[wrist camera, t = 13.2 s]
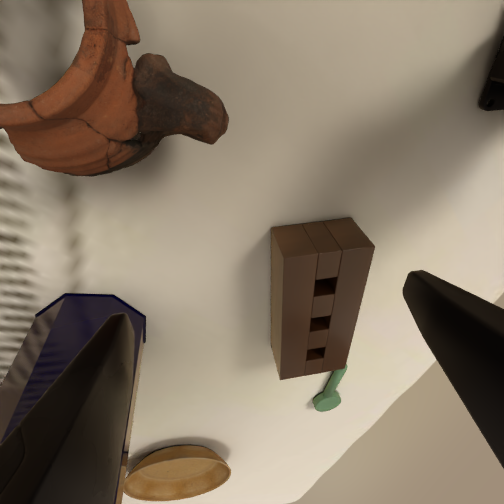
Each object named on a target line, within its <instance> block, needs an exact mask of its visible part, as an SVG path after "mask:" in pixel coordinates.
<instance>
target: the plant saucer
mask: <svg viewBox="0 0 504 504" xmlns="http://www.w3.org/2000/svg"><path fill="white" fill-rule="evenodd" d="M230 475H231V469H230V468H229V466H228V465H227V464H226V462H225V461H224V460H223V459H222V458H221V457H220V456H218V455H217V454H216V453H215V452H213V451H212V450H210V449H208V448H205V447H201V446H194V445H183V446H174V447H169V448H165V449H162V450H159V451H156V452H154V453H152V454H150V455H148V456H147V457H145V458H144V459H143V460H142V461H141V462H140V463H138V464H137V465H136V466H135V467H134V469H133V470H132V471H131V472H130V473H129V474H128V476H127V477H126V479H125V481H124V489H123V492H124V493H125V494H126V495H128V496H130V497H132V498H135V499H139V500H145V501H171V500H180V499H185V498H190V497H194V496H197V495H201V494H204V493H207V492H209V491H211V490H214V489H216V488H218V487H219V486H221V485H222V484H224V483H225V482H226V481H227V480H228V479H229V477H230Z"/></svg>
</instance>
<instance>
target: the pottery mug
mask: <svg viewBox="0 0 504 504" xmlns="http://www.w3.org/2000/svg"><path fill="white" fill-rule="evenodd" d="M82 3H83V12H84V26H85V32H84V34H83V37H82V41H81V45H80V48H79V51H78V53H77V54H76V56H75V58H74V60H73V62H72V64H71V66H70V67H69V69H68V70H67V71H66V73H65V74H64V76H63V77H62V78H61V79H60V80H59V81H58V82H57V83H56V84H55V85H53V86H52V87H51V88H50V89H49V90H47V91H46V92H44V93H43V94H41V95H39V96H37V97H35V98H33V99H31V100H29V101H23V102H19V103H13V104H0V129H2V128H3V129H5V131H6V132H7V134H8V136H9V139H10V142H11V143H12V144H13V145H14V147H15V150H16V151H17V153H18V154H20V156H21V157H22V159H23V160H24V161H26V162H29V163H32V164H35V165H37V166H39V167H41V168H42V169H45V170H49V171H54V172H62V173H65V174H69V175H73V176H97V175H102V174H107V173H111V172H113V171H117V170H120V169H122V168H126V167H129V166H132V165H134V164H136V163H138V162H140V161H141V160H143V159H144V158H146V157H147V156H148V155H149V154H150V153H151V152H152V151H153V150H154V149H155V148H156V147H157V146H158V145H159V142H160V141H161V140H162V139H163V138H164V137H167V136H170V135H174V134H182V135H185V136H188V137H191V138H193V139H195V140H198V141H201V142H204V143H207V144H210V145H212V144H214V143H215V142H216V141H217V140H218V138H219V137H220V136H221V135H223V134H224V133H225V132H226V130H227V126H228V122H229V117H228V114H227V112H226V110H225V107H224V104H223V103H222V101H221V100H220V98H219V97H218V96H217V95H216V94H215V93H213V92H212V91H210V90H209V89H207V88H205V87H203V86H201V85H199V84H197V83H195V82H193V81H191V80H189V79H187V78H184V77H181V76H179V75H176V74H175V73H173V72H172V70H171V68H170V66H169V64H168V62H167V60H166V59H165V58H164V57H163V56H161V55H153V54H150V53H148V54H145V55H142V56H141V57H140V58H139V59H138V60H137V62H136V66H135V68H133V66H132V62H131V59H130V57H129V56H128V52H127V48H126V45H131V44H133V45H134V44H138V43H139V42H140V36H139V32H138V29H137V27H136V24H135V21H134V18H133V15H132V13H131V11H130V9H129V6H128V3H127V1H126V0H82ZM139 132H141V136H140V138H138V139H137V140H135V139H133V140H130V139H131V138H133V137H135V136H136V134H137V133H139Z"/></svg>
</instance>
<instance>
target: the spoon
mask: <svg viewBox="0 0 504 504" xmlns="http://www.w3.org/2000/svg"><path fill="white" fill-rule="evenodd" d="M346 370H347V364H346V366H345V369H340V370H335V371H334V373H333V375H332V376H331V378H330V380H329V382H328V384H327V386H326V388H325V390H324V392H323V393H321V394H319V395H318V396H316V397H315V398H314V400H313V404H314V407H315V409H316V410H317V411H320V412H323V411H328V410H331V409H333V408H335V407H337V406H338V405H339V404H340V403H341V398H340V396H339V394H338V392H336V391H335V390H336V388H337V386H338V384H339V382H340V380H341V379H342V377H343V375H344V373H345V371H346Z"/></svg>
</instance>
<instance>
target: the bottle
mask: <svg viewBox="0 0 504 504" xmlns="http://www.w3.org/2000/svg"><path fill="white" fill-rule="evenodd" d="M118 313H126V314H127V315H128V317H129V320H130V322H131V325H132V327H133V330H134V334H135V343H134V366H133V386H132V393H131V400H130V406H129V412H128V418H127V424H126V430H125V436H124V443H123V449H122V455H121V461H120V467H119V473H118V479H117V486H116V492H115V498H114V504H121V503H122V496H123V489H124V481H125V474H126V467H127V460H128V453H129V446H130V439H131V432H132V425H133V417H134V410H135V403H136V396H137V389H138V382H139V375H140V368H141V360H142V353H143V346H144V343H145V342H146V316H145V315H143V314H142V313H140V312H139V311H137V310H136V309H134V308H133V307H131V306H130V305H128V304H127V303H125V302H124V301H122V300H121V299H119V298H118V297H116V296H115V295H107V294H71V293H65V294H64V295H62V296H61V297H59V298H58V299H57V300H55V301H54V302H52V303H51V304H50V305H48V306H47V307H45V308H44V309H43V310H41V311H40V312H39V313H37V314H36V315H35V317H36V318H35V320H34V322H33V324H32V326H31V328H30V330H29V332H28V334H27V336H26V338H25V340H24V342H23V344H22V346H21V348H20V350H19V352H18V354H17V356H16V358H15V359H14V361H13V363H12V365H11V367H10V369H9V371H8V373H7V375H6V377H5V379H4V381H3V383H2V385H1V387H0V445H1V444H2V443H3V441H4V440H5V439H6V438H7V437H8V436H9V434H10V433H11V432H12V431H13V430H14V428H15V427H16V426H18V425H20V422H21V420H22V419H23V418H24V417H25V416H26V414H27V413H28V412H29V411H30V410H31V409H32V407H33V406H34V405H35V404H36V403H37V401H38V400H39V399H40V398H41V397H42V396H43V394H44V393H45V392H46V391H47V390H48V388H49V387H50V386H51V385H52V384H53V383H54V381H55V380H56V379H57V378H58V377H59V375H60V374H61V373H62V372H63V371H64V370H65V368H66V367H67V366H68V365H69V364H70V363H71V361H72V360H73V359H74V358H75V357H76V355H77V354H78V353H79V352H80V351H81V350H82V348H83V347H84V346H85V345H86V344H87V342H88V341H89V340H90V339H91V338H92V337H93V335H94V334H95V333H96V332H97V331H98V329H99V328H100V327H101V326H102V325H103V324H104V322H105V321H106V320H107V319H108V318H109V317H110V316H111V315H112V314H118Z"/></svg>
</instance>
